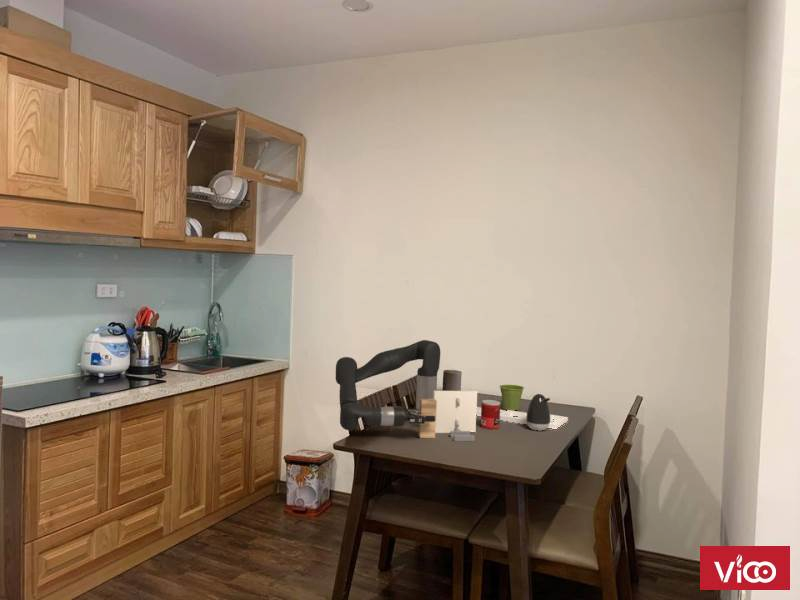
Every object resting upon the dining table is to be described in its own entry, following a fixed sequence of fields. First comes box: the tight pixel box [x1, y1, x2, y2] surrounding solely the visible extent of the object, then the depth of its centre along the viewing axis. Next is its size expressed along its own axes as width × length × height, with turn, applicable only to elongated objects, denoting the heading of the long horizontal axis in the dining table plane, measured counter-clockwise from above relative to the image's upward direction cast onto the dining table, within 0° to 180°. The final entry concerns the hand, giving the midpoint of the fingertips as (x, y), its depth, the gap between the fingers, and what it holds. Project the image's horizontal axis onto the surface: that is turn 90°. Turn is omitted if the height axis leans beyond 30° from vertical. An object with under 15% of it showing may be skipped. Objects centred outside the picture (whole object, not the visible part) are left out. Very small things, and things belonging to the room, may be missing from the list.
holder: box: [476, 406, 569, 430], centre depth 282 cm, size 45×18×3 cm, turn 58°
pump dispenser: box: [526, 393, 551, 432], centre depth 262 cm, size 10×10×15 cm
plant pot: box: [499, 384, 525, 411], centre depth 298 cm, size 12×12×11 cm
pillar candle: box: [441, 368, 463, 391], centre depth 323 cm, size 10×10×15 cm
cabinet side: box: [433, 390, 478, 442], centre depth 246 cm, size 14×18×17 cm
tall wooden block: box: [417, 399, 437, 439], centre depth 243 cm, size 4×6×15 cm, turn 100°
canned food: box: [480, 399, 501, 430], centre depth 263 cm, size 8×8×11 cm
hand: (432, 416), depth 243 cm, fingers open, 7 cm apart
